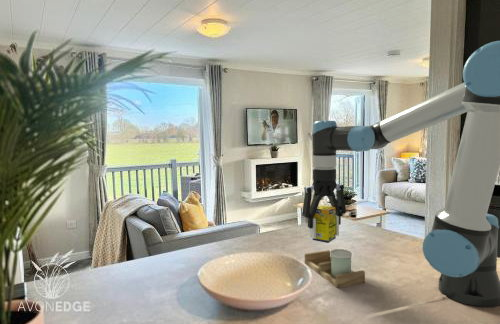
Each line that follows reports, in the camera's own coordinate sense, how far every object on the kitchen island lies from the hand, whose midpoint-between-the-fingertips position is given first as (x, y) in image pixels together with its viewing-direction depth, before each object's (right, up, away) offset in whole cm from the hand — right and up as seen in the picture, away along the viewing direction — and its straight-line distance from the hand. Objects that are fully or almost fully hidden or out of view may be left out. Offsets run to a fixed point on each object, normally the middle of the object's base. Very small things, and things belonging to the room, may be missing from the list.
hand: (324, 235), depth 112 cm
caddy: (+2, -11, -4) cm, 12 cm away
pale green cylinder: (+3, -11, -8) cm, 14 cm away
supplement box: (0, -1, 0) cm, 1 cm away
